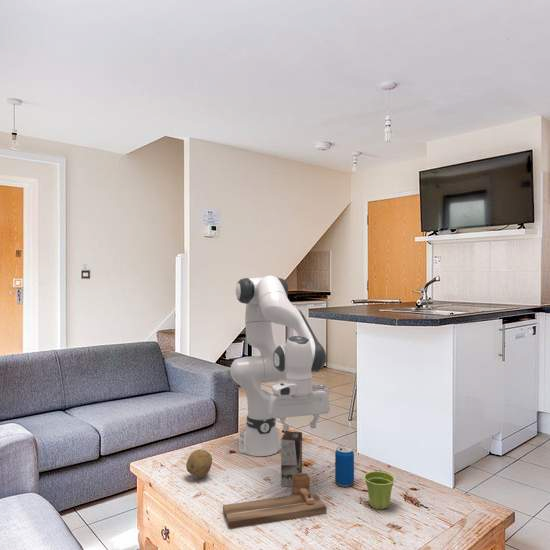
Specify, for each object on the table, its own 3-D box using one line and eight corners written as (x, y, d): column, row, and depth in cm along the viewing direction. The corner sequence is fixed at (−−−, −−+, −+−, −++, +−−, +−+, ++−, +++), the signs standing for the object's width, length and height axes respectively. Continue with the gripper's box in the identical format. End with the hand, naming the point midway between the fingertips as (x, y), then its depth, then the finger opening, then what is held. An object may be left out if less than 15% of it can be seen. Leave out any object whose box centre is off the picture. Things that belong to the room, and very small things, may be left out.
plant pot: (393, 514, 139) (393, 486, 139) (361, 509, 143) (361, 481, 143) (396, 500, 148) (396, 473, 148) (366, 496, 151) (366, 469, 151)
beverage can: (340, 477, 165) (340, 444, 165) (357, 482, 161) (357, 448, 161) (332, 484, 160) (331, 449, 160) (348, 489, 156) (348, 454, 156)
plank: (222, 511, 141) (222, 504, 141) (314, 498, 150) (314, 491, 150) (229, 528, 132) (229, 521, 132) (326, 513, 140) (326, 506, 140)
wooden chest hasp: (292, 496, 151) (292, 472, 151) (306, 494, 153) (306, 470, 153) (303, 512, 141) (303, 487, 141) (318, 510, 142) (318, 485, 142)
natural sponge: (188, 485, 160) (188, 456, 160) (184, 474, 168) (184, 447, 168) (214, 481, 162) (214, 453, 162) (209, 471, 171) (209, 444, 171)
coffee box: (299, 487, 157) (298, 440, 157) (280, 486, 159) (280, 439, 159) (302, 476, 166) (302, 431, 166) (285, 474, 168) (285, 430, 168)
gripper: (324, 382, 157) (325, 423, 157) (267, 386, 152) (267, 429, 151) (332, 386, 151) (332, 428, 151) (272, 390, 146) (272, 435, 145)
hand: (299, 429), depth 151 cm, fingers open, 8 cm apart
